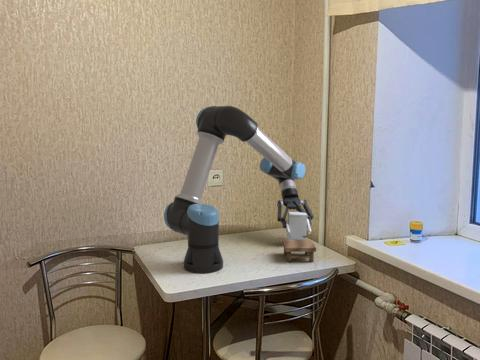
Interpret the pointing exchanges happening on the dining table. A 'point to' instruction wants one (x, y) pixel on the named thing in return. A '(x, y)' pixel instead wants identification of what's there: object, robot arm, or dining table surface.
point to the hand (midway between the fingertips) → (299, 233)
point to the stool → (299, 249)
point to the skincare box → (297, 225)
